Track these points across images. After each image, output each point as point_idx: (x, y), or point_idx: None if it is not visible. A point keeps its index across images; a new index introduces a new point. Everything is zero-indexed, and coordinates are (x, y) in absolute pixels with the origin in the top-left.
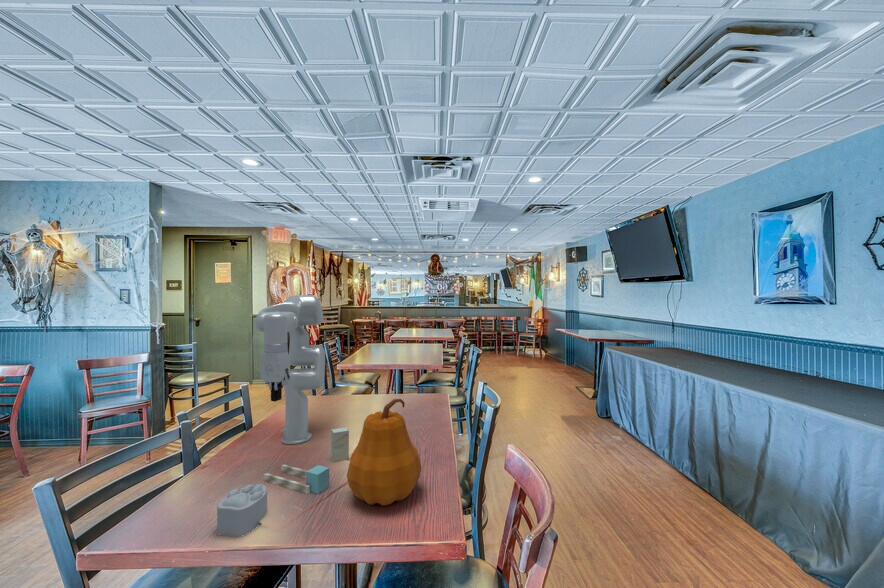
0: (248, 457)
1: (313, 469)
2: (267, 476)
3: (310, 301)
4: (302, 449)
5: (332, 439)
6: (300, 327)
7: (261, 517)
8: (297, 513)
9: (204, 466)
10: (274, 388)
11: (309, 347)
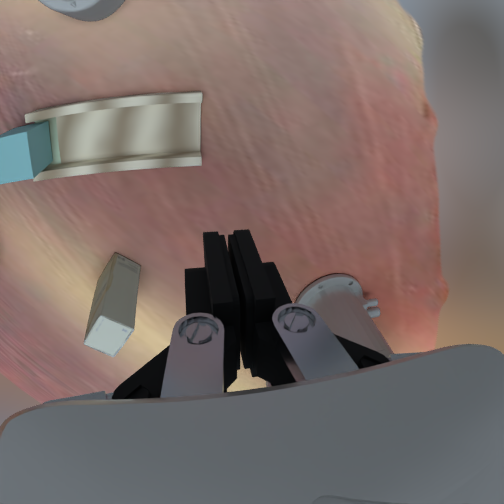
0: (371, 184)
1: (20, 152)
2: (185, 93)
3: None
4: None
5: (111, 300)
6: None
7: None
8: (9, 59)
9: (428, 113)
10: (218, 329)
11: None
